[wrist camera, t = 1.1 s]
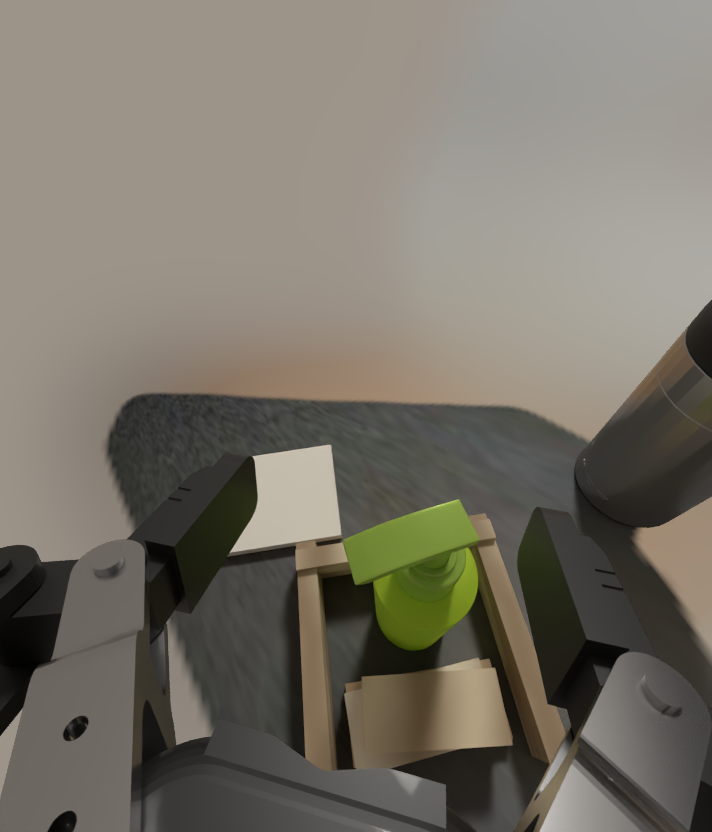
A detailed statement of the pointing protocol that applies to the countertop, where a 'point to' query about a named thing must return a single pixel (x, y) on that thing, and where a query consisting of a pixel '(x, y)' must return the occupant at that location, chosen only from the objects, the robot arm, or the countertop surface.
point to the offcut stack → (425, 714)
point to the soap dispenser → (418, 572)
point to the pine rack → (503, 618)
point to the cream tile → (292, 501)
